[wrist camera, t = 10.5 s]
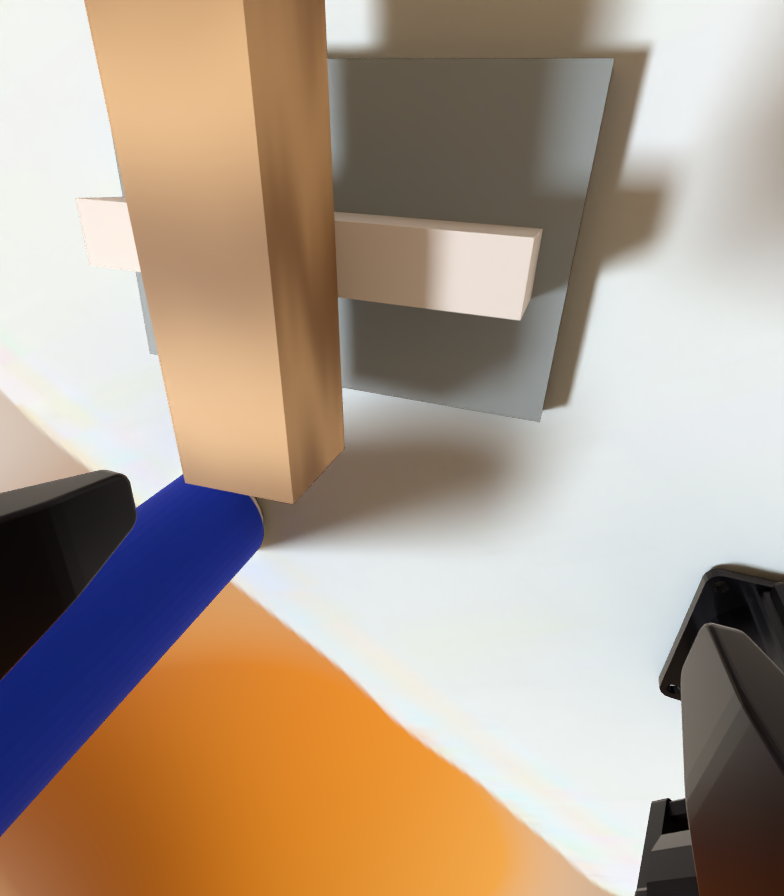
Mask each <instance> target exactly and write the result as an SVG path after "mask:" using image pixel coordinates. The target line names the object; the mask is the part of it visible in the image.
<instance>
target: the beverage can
mask: <svg viewBox="0 0 784 896" xmlns="http://www.w3.org/2000/svg"><path fill="white" fill-rule="evenodd" d="M136 512H137V519H136V523H135V525H134V527H133V528H132V530H131V531H130V532H129V534H128V535H127V536H126V537H125V539H124V540H123V541H122V543H121V544H120V545H119V546H118V548H117V549H116V550H115V551H114V553H113V554H112V555H111V557H110V558H109V559H108V560H107V562H106V563H105V564H104V565H103V567H102V568H101V569H100V571H99V572H98V573H97V574H96V576H95V577H94V578H93V579H92V581H91V582H90V583H89V585H88V586H87V587H86V588H85V589H84V591H83V592H82V593H81V594H80V596H79V597H78V598H77V599H76V600H75V601H74V602H73V604H72V605H71V606H70V607H69V608H68V609H67V610H66V611H65V612H64V613H63V615H62V616H61V617H60V618H59V619H58V620H57V621H56V622H55V623H54V624H53V625H52V626H51V627H50V628H49V629H48V631H47V632H46V633H45V634H44V635H43V636H42V637H41V638H40V639H39V640H38V641H37V642H36V643H35V644H34V645H33V647H32V648H31V649H30V650H29V651H28V652H27V653H26V654H25V655H24V656H23V657H22V658H21V659H20V660H19V661H18V663H17V664H16V665H15V666H14V667H13V668H12V669H11V670H10V671H9V672H8V673H7V674H6V675H5V676H4V677H3V679H2V680H1V681H0V837H1V835H2V834H3V833H4V832H5V831H6V830H7V829H8V828H9V827H10V825H11V824H12V823H13V822H14V821H15V820H16V819H17V818H18V816H19V815H20V814H21V813H22V812H23V811H24V810H25V809H26V808H27V806H28V805H29V804H30V803H31V802H32V801H33V800H34V799H35V798H36V796H37V795H38V794H39V793H40V792H41V791H42V790H43V789H44V788H45V786H46V785H47V784H48V783H49V782H50V781H51V780H52V778H54V776H55V775H56V774H57V773H58V772H59V771H60V770H61V769H62V767H63V766H64V765H65V764H66V763H67V762H68V761H69V760H70V759H71V757H72V756H73V755H74V754H75V753H76V752H77V751H78V750H79V749H80V747H81V746H82V745H83V744H84V743H85V742H86V741H87V740H88V739H89V737H90V736H91V735H92V734H93V733H94V732H95V731H96V730H97V728H98V727H99V726H100V725H101V724H102V723H103V722H104V721H105V719H106V718H107V717H108V716H109V715H110V714H111V713H112V712H113V710H115V708H116V707H117V706H118V705H119V704H120V703H121V702H122V701H123V700H124V698H125V697H126V696H127V695H128V694H129V693H130V692H131V691H132V690H133V688H134V687H135V686H136V685H137V684H138V683H139V682H140V680H141V679H142V678H143V677H144V676H145V675H146V674H147V673H148V672H149V671H150V669H151V668H152V667H153V666H154V665H155V664H156V663H157V662H158V660H159V659H160V658H161V657H162V656H163V655H164V654H165V653H166V652H167V650H168V649H169V648H170V647H171V646H172V645H173V644H174V643H175V642H176V640H177V639H178V638H179V637H180V636H181V635H182V634H183V633H184V632H185V630H186V629H187V628H188V627H189V626H190V625H191V624H192V622H193V621H194V620H195V619H196V618H197V617H198V616H199V615H200V614H201V612H203V610H204V609H205V608H206V607H207V606H208V605H209V604H210V603H211V602H212V600H213V599H214V598H215V597H216V596H217V595H218V594H219V593H220V591H221V590H222V589H223V588H224V587H225V586H226V585H227V584H228V583H229V581H230V580H231V579H232V578H233V577H234V576H235V575H236V574H237V573H238V571H239V570H240V569H241V568H242V567H243V566H244V565H245V564H246V563H247V561H248V560H249V559H250V558H251V557H252V556H253V555H254V554H255V552H256V551H257V550H258V549H259V547H260V546H261V543H262V540H263V536H264V524H263V516H262V512H261V509H260V507H259V504H258V502H257V501H256V499H255V497H254V496H249V495H243V494H238V493H233V492H228V491H223V490H218V489H213V488H208V487H203V486H198V485H193V484H188V483H185V480H184V476H183V475H181V476H180V477H179V478H177V479H176V480H174V481H173V482H172V483H170V484H169V485H167V486H166V487H165V488H163V489H162V490H160V491H159V492H158V493H156V494H155V495H154V496H152V497H151V498H149V499H148V500H147V501H145V502H144V503H142V504H141V505H140V506H138V507H137V508H136Z"/></svg>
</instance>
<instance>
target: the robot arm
mask: <svg viewBox="0 0 784 896" xmlns="http://www.w3.org/2000/svg"><path fill="white" fill-rule="evenodd" d="M136 519H137V512H136V507H135V503H134V498H133V493H132V489H131V484H130V481H129V479H128V478H127V477H126V476H125V475H123V474H121V473H117V472H113V471H109V470H98V471H94V472H90V473H85V474H81V475H77V476H73V477H69V478H64V479H59V480H55V481H51V482H46V483H42V484H38V485H34V486H29V487H25V488H21V489H17V490H12V491H8V492H3V493H0V681H1V680H2V679H3V677H4V676H5V675H6V674H7V673H8V672H9V671H10V670H11V669H12V668H13V667H14V666H15V665H16V664H17V663H18V661H19V660H20V659H21V658H22V657H23V656H24V655H25V654H26V653H27V652H28V651H29V650H30V649H31V648H32V647H33V645H34V644H35V643H36V642H37V641H38V640H39V639H40V638H41V637H42V636H43V635H44V634H45V633H46V632H47V631H48V629H49V628H50V627H51V626H52V625H53V624H54V623H55V622H56V621H57V620H58V619H59V618H60V617H61V616H62V615H63V613H64V612H65V611H66V610H67V609H68V608H69V607H70V606H71V605H72V604H73V602H74V601H75V600H76V599H77V598H78V597H79V596H80V594H81V593H82V592H83V591H84V589H85V588H86V587H87V586H88V585H89V583H90V582H91V581H92V579H93V578H94V577H95V576H96V574H97V573H98V572H99V571H100V569H101V568H102V567H103V565H104V564H105V563H106V562H107V560H108V559H109V558H110V557H111V555H112V554H113V553H114V551H115V550H116V549H117V548H118V546H119V545H120V544H121V543H122V541H123V540H124V539H125V537H126V536H127V535H128V534H129V532H130V531H131V530H132V528H133V527H134V525H135V523H136ZM716 582H725V583H724V584H723V585H720V586H718V585H714V583H716ZM670 685H675V686H670ZM659 688H660V690H661V692H662V693H663V694H664V695H665V696H668V697H670V698H674V699H677V700H680V701H681V706H682V731H683V756H684V782H685V798H684V799H679V800H674V801H672V800H670V799H669V798H666V799H662V800H657V801H653V802H652V803H651V808H650V814H649V820H648V826H647V832H646V838H645V844H644V849H643V855H642V861H641V867H640V873H639V879H638V885H637V890H636V892H635V896H784V582H776V581H772V580H768V579H763V578H759V577H754V576H750V575H746V574H741V573H737V572H732V571H728V570H724V569H713V570H710V571H708V572H706V573H705V574H704V576H703V577H702V580H701V582H700V584H699V587H698V589H697V591H696V594H695V596H694V598H693V600H692V603H691V605H690V607H689V610H688V612H687V614H686V616H685V619H684V621H683V623H682V626H681V628H680V630H679V633H678V635H677V637H676V639H675V642H674V644H673V646H672V649H671V651H670V653H669V656H668V658H667V660H666V662H665V665H664V667H663V669H662V672H661V674H660V676H659Z"/></svg>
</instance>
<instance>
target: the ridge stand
mask: <svg viewBox="0 0 784 896" xmlns="http://www.w3.org/2000/svg"><path fill="white" fill-rule="evenodd" d="M327 63H328V86H329V109H330V131H331V154H332V176H333V199H334V222H335V244H336V267H337V289H338V312H339V334H340V357H341V380H342V387H343V388H348V389H354V390H360V391H365V392H371V393H377V394H382V395H388V396H394V397H400V398H405V399H411V400H417V401H422V402H428V403H434V404H439V405H445V406H451V407H456V408H462V409H468V410H473V411H479V412H485V413H491V414H496V415H502V416H508V417H513V418H519V419H525V420H530V421H536V422H540V419H541V414H542V409H543V404H544V399H545V394H546V390H547V385H548V380H549V375H550V370H551V365H552V360H553V355H554V351H555V346H556V341H557V336H558V331H559V326H560V321H561V316H562V311H563V307H564V302H565V297H566V292H567V287H568V282H569V277H570V272H571V268H572V263H573V258H574V253H575V248H576V243H577V238H578V233H579V228H580V224H581V219H582V214H583V209H584V204H585V199H586V194H587V189H588V185H589V180H590V175H591V170H592V165H593V160H594V155H595V150H596V146H597V141H598V136H599V131H600V126H601V121H602V116H603V111H604V106H605V102H606V97H607V92H608V87H609V82H610V77H611V72H612V67H613V63H614V58H465V59H327ZM111 132H112V131H111ZM112 137H113V135H112ZM113 143H114V140H113ZM114 149H115V145H114ZM115 155H116V150H115ZM116 160H117V166H118V172H119V178H120V184H121V189H122V195H123V197H100V198H76V203H77V208H78V213H79V217H80V222H81V227H82V231H83V236H84V241H85V246H86V250H87V255H88V260H89V264H90V266H97V267H105V268H112V269H120V270H128V271H136V276H137V282H138V287H139V293H140V299H141V305H142V310H143V316H144V322H145V328H146V334H147V339H148V345H149V351H150V354H155V355H158V351H157V346H156V341H155V337H154V332H153V327H152V322H151V317H150V313H149V308H148V303H147V298H146V294H145V289H144V284H143V279H142V274H141V270H140V265H139V260H138V255H137V250H136V246H135V241H134V236H133V231H132V226H131V222H130V217H129V212H128V207H127V203H126V198H125V193H124V188H123V183H122V179H121V174H120V169H119V164H118V159H117V155H116Z"/></svg>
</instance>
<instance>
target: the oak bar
mask: <svg viewBox="0 0 784 896" xmlns="http://www.w3.org/2000/svg"><path fill="white" fill-rule="evenodd" d="M84 1H85V6H86V11H87V16H88V21H89V25H90V30H91V35H92V40H93V45H94V49H95V54H96V59H97V64H98V68H99V73H100V78H101V83H102V88H103V92H104V97H105V102H106V107H107V112H108V116H109V121H110V126H111V131H112V135H113V140H114V145H115V150H116V155H117V159H118V164H119V169H120V174H121V179H122V183H123V188H124V193H125V198H126V203H127V207H128V212H129V217H130V222H131V226H132V231H133V236H134V241H135V246H136V250H137V255H138V260H139V265H140V270H141V274H142V279H143V284H144V289H145V294H146V298H147V303H148V308H149V313H150V317H151V322H152V327H153V332H154V337H155V341H156V346H157V351H158V356H159V361H160V365H161V370H162V375H163V380H164V385H165V389H166V394H167V399H168V404H169V408H170V413H171V418H172V423H173V428H174V432H175V437H176V442H177V447H178V452H179V456H180V461H181V466H182V471H183V476H184V480H185V483H188V484H193V485H198V486H203V487H208V488H213V489H218V490H223V491H228V492H233V493H238V494H243V495H249V496H254V497H259V498H264V499H269V500H274V501H279V502H284V503H289V504H294V503H295V502H296V501H297V500H298V499H299V498H300V497H301V496H302V494H303V493H304V492H305V491H306V490H307V489H308V488H309V487H310V486H311V485H312V483H313V482H314V481H315V480H316V479H317V478H318V477H319V476H320V475H321V474H322V473H323V471H324V470H325V469H326V468H327V467H328V466H329V465H330V464H331V463H332V462H333V461H334V459H335V458H336V457H337V456H338V455H339V454H340V453H341V452H342V451H343V450H344V448H345V447H344V425H343V402H342V380H341V357H340V334H339V312H338V289H337V267H336V244H335V222H334V199H333V176H332V154H331V131H330V109H329V86H328V63H327V41H326V18H325V0H84Z"/></svg>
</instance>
